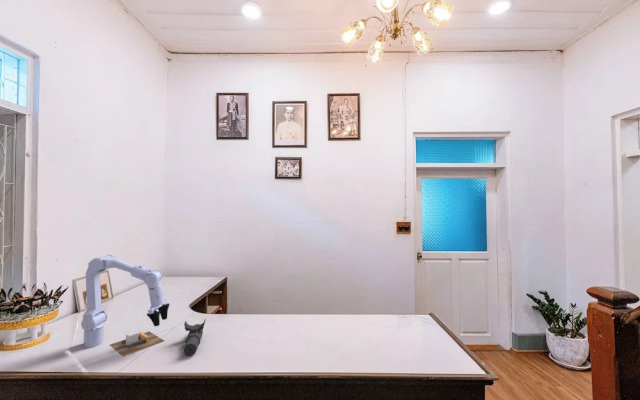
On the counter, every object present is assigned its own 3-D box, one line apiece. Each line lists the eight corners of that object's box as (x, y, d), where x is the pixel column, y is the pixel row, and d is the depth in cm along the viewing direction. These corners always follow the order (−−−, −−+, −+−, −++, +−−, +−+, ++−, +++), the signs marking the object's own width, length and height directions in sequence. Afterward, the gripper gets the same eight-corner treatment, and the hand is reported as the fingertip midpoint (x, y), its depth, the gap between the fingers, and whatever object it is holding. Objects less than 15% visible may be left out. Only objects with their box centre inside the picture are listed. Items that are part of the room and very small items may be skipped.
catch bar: (138, 337, 146) (138, 332, 146) (141, 336, 147) (141, 331, 147) (146, 342, 140) (146, 337, 140) (148, 341, 141) (148, 336, 141)
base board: (109, 346, 138) (109, 341, 138) (149, 333, 153) (149, 328, 153) (123, 358, 128) (123, 353, 128) (164, 342, 142) (164, 337, 142)
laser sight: (178, 358, 128) (178, 336, 129) (187, 335, 150) (187, 316, 150) (201, 355, 131) (201, 333, 131) (207, 333, 153) (207, 314, 153)
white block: (125, 344, 139) (125, 334, 139) (135, 341, 142) (135, 331, 142) (129, 346, 136) (129, 336, 136) (138, 343, 140) (138, 333, 140)
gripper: (156, 299, 134) (161, 327, 134) (171, 289, 149) (175, 315, 149) (141, 301, 134) (146, 330, 134) (157, 292, 148) (161, 317, 148)
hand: (160, 322), depth 141 cm, fingers open, 7 cm apart
